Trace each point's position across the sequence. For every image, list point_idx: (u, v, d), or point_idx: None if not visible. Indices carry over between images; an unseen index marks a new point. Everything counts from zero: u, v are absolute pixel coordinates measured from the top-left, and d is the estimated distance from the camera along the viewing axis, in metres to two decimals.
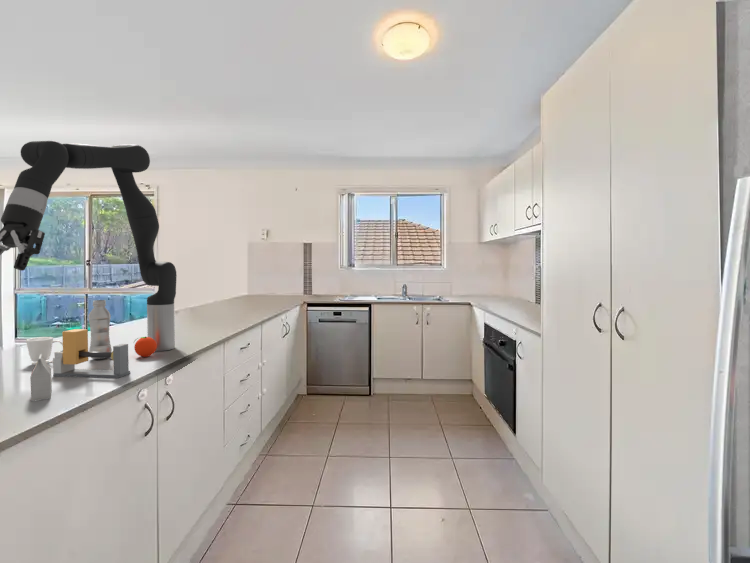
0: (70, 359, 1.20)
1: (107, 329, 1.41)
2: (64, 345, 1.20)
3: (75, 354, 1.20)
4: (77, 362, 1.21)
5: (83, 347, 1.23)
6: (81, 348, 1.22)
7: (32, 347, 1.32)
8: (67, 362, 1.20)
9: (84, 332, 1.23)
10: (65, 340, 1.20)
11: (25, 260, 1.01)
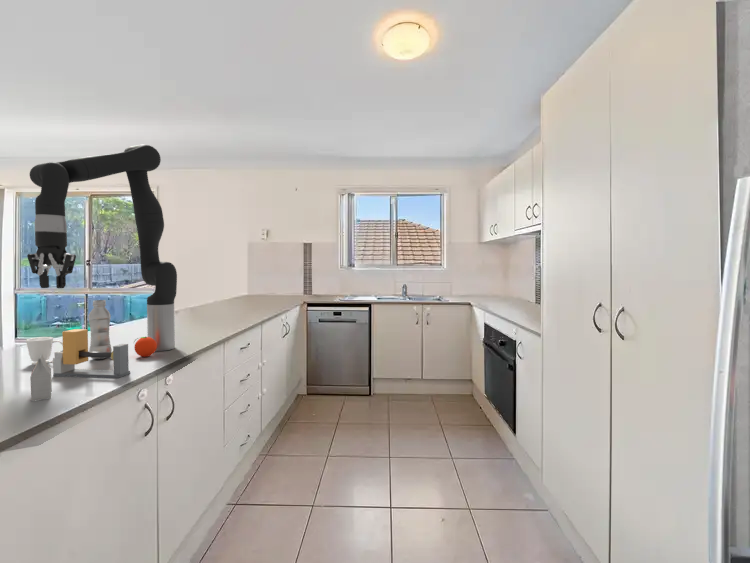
0: (70, 359, 1.20)
1: (107, 329, 1.41)
2: (64, 345, 1.20)
3: (75, 354, 1.20)
4: (77, 362, 1.21)
5: (83, 347, 1.23)
6: (81, 348, 1.22)
7: (32, 347, 1.32)
8: (67, 362, 1.20)
9: (84, 332, 1.23)
10: (65, 340, 1.20)
11: (63, 280, 1.24)
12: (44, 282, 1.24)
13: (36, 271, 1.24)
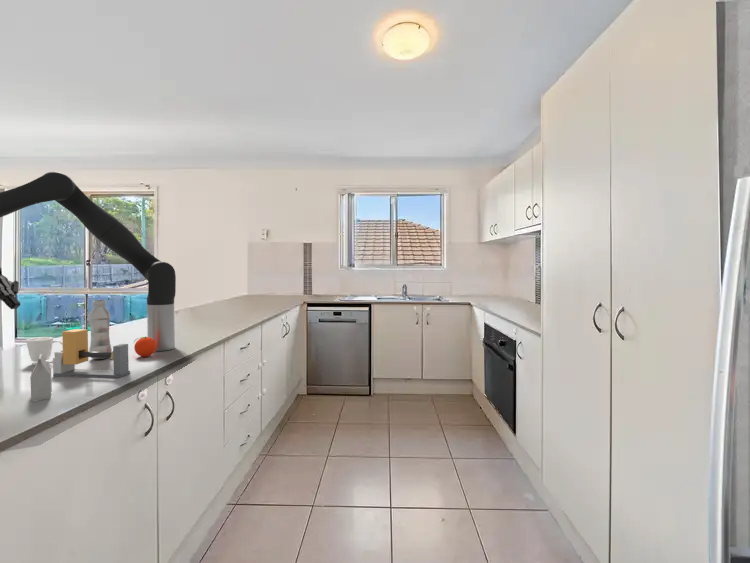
0: (70, 359, 1.20)
1: (107, 329, 1.41)
2: (64, 345, 1.20)
3: (75, 354, 1.20)
4: (77, 362, 1.21)
5: (83, 347, 1.23)
6: (81, 348, 1.22)
7: (32, 347, 1.32)
8: (67, 362, 1.20)
9: (84, 332, 1.23)
10: (65, 340, 1.20)
11: (6, 301, 1.21)
12: None
13: None
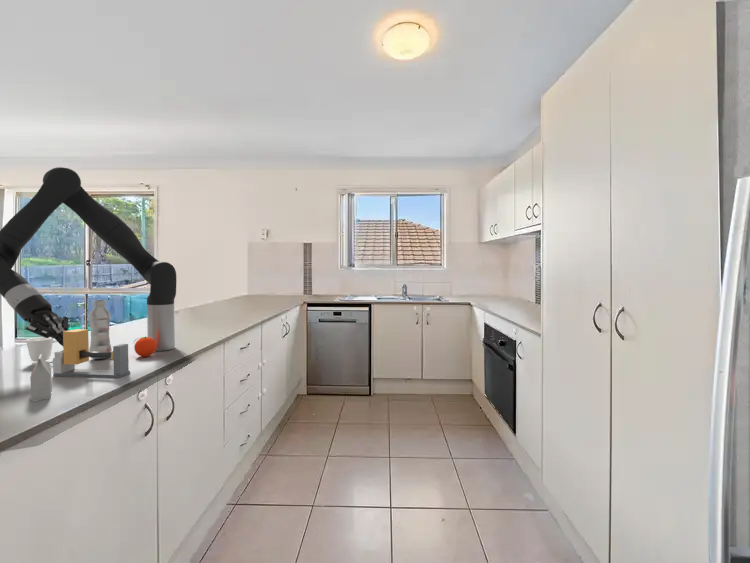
0: (71, 359, 1.20)
1: (107, 329, 1.41)
2: (65, 345, 1.20)
3: (76, 354, 1.20)
4: (78, 362, 1.21)
5: (84, 347, 1.23)
6: (82, 348, 1.22)
7: (32, 347, 1.32)
8: (68, 362, 1.20)
9: (85, 332, 1.23)
10: (66, 340, 1.20)
11: (58, 339, 1.21)
12: None
13: None
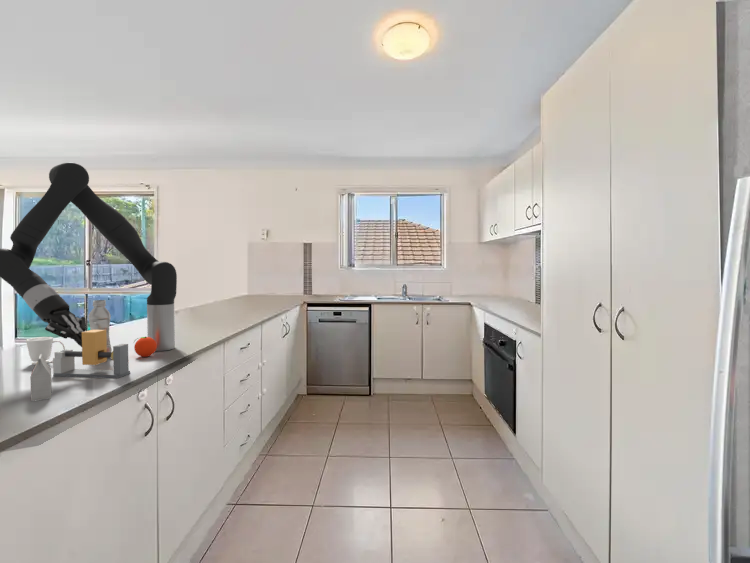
0: (89, 360, 1.20)
1: (107, 329, 1.41)
2: (83, 346, 1.20)
3: (94, 355, 1.20)
4: (96, 363, 1.20)
5: (102, 348, 1.22)
6: (100, 349, 1.22)
7: (32, 347, 1.32)
8: (86, 363, 1.20)
9: (103, 332, 1.23)
10: (84, 340, 1.20)
11: (77, 340, 1.21)
12: None
13: None
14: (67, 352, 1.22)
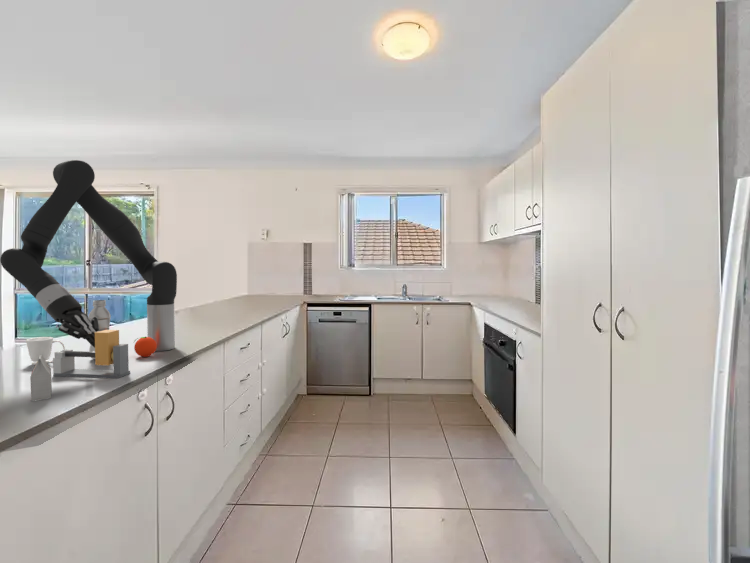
0: (102, 360, 1.20)
1: (107, 329, 1.41)
2: (96, 346, 1.20)
3: (107, 355, 1.19)
4: (109, 363, 1.20)
5: None
6: None
7: (32, 347, 1.32)
8: (99, 363, 1.20)
9: (116, 333, 1.22)
10: (97, 340, 1.19)
11: (90, 340, 1.21)
12: None
13: None
14: (67, 352, 1.22)
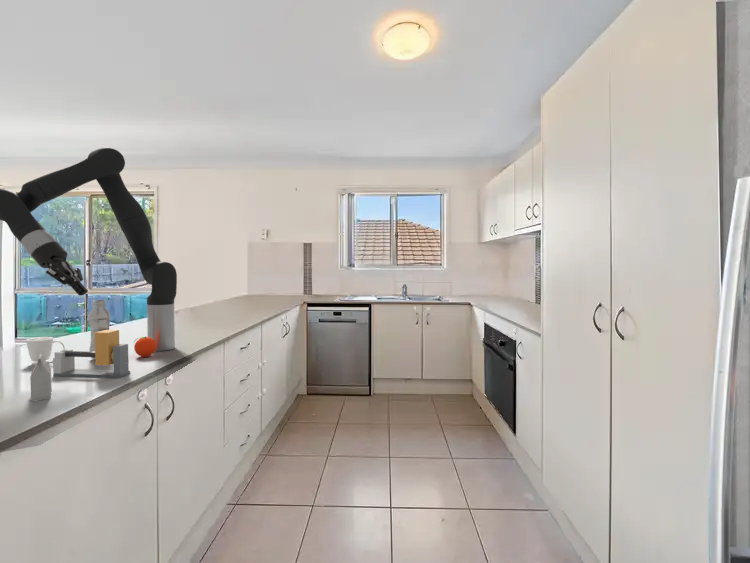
0: (102, 360, 1.20)
1: (107, 329, 1.41)
2: (96, 346, 1.20)
3: (107, 355, 1.19)
4: (109, 363, 1.20)
5: None
6: None
7: (32, 347, 1.32)
8: (99, 363, 1.20)
9: (116, 333, 1.22)
10: (97, 340, 1.19)
11: (75, 287, 1.22)
12: None
13: None
14: (67, 352, 1.22)
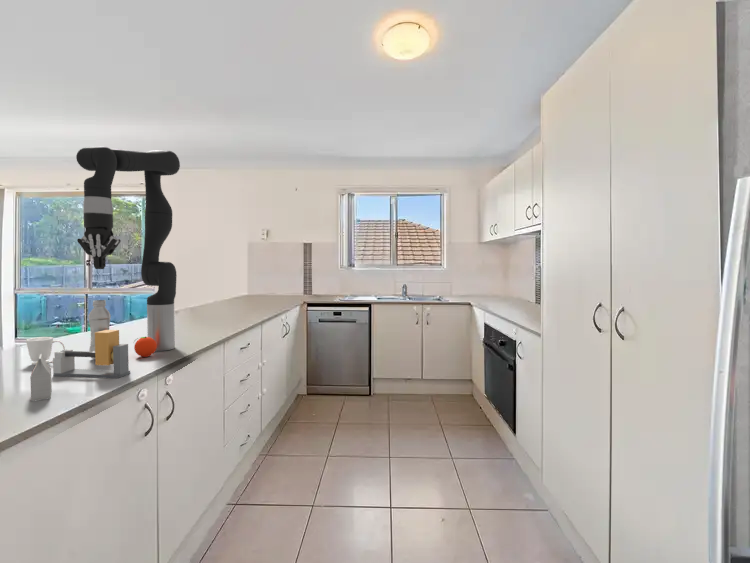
0: (102, 360, 1.20)
1: (107, 329, 1.41)
2: (96, 346, 1.20)
3: (107, 355, 1.19)
4: (109, 363, 1.20)
5: None
6: None
7: (32, 347, 1.32)
8: (99, 363, 1.20)
9: (116, 333, 1.22)
10: (97, 340, 1.19)
11: (103, 261, 1.29)
12: None
13: (90, 252, 1.28)
14: (67, 352, 1.22)
